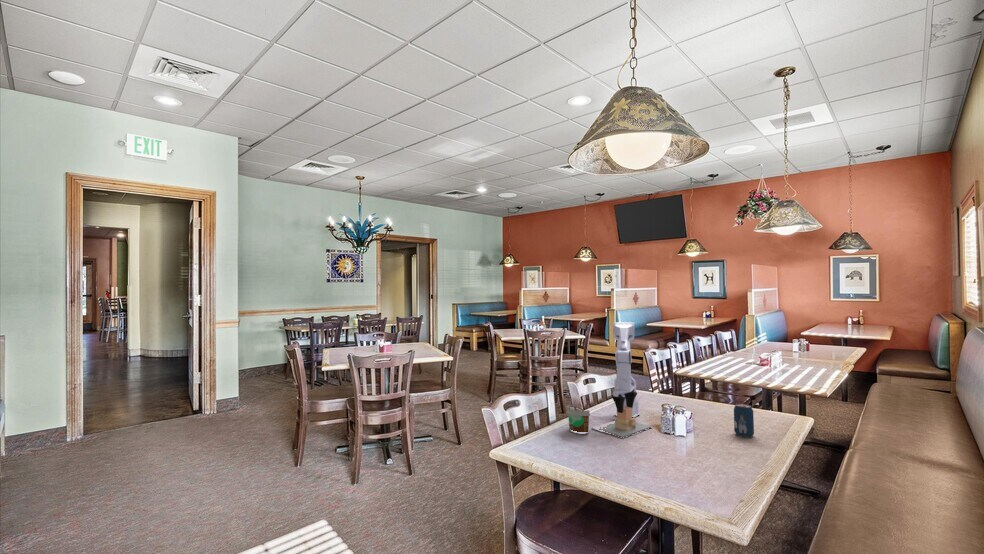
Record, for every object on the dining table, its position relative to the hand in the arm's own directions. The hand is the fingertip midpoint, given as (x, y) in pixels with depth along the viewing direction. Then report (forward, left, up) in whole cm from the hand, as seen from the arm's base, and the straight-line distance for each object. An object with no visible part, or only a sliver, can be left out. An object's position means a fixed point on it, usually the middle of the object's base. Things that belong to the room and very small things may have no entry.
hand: (624, 410), depth 188 cm
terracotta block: (0, 0, -3) cm, 3 cm away
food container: (+18, -12, -8) cm, 23 cm away
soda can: (-30, +35, -8) cm, 47 cm away
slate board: (0, -2, -8) cm, 8 cm away
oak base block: (0, 0, -8) cm, 8 cm away
